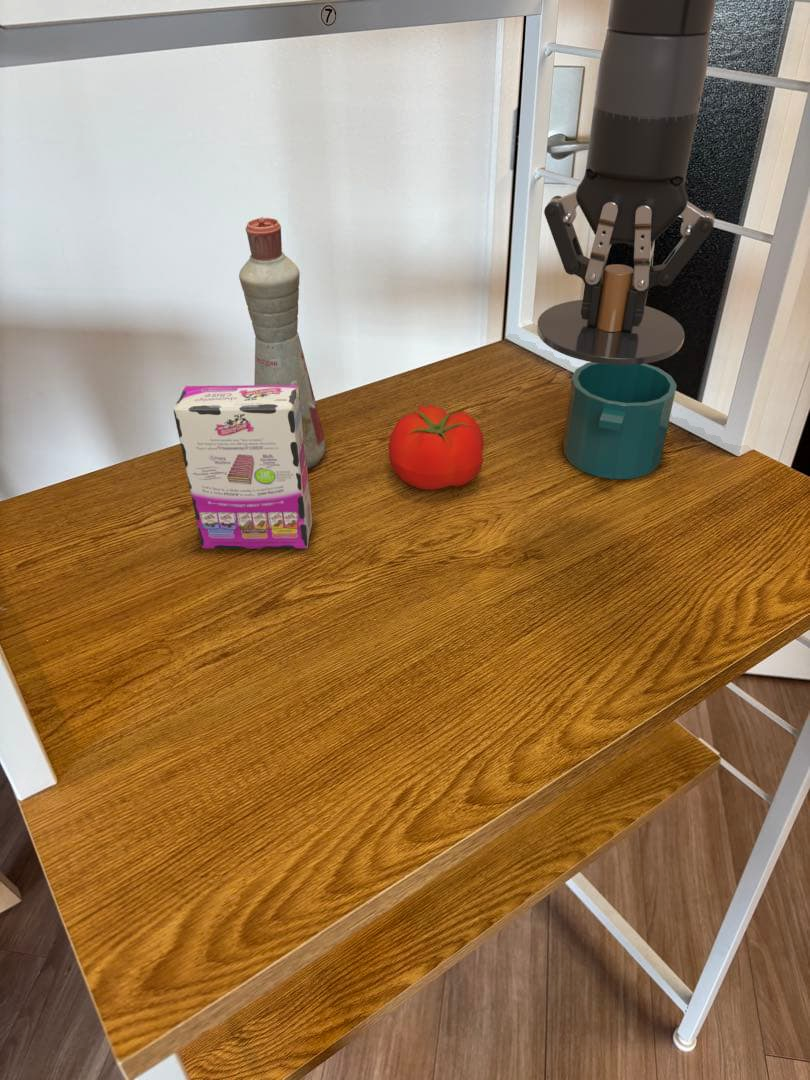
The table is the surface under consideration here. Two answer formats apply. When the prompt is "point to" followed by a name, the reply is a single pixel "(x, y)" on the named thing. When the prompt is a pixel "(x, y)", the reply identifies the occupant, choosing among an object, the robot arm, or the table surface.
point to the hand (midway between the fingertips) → (610, 325)
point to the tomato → (436, 448)
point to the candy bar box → (246, 465)
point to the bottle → (279, 325)
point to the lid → (611, 327)
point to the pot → (618, 419)
